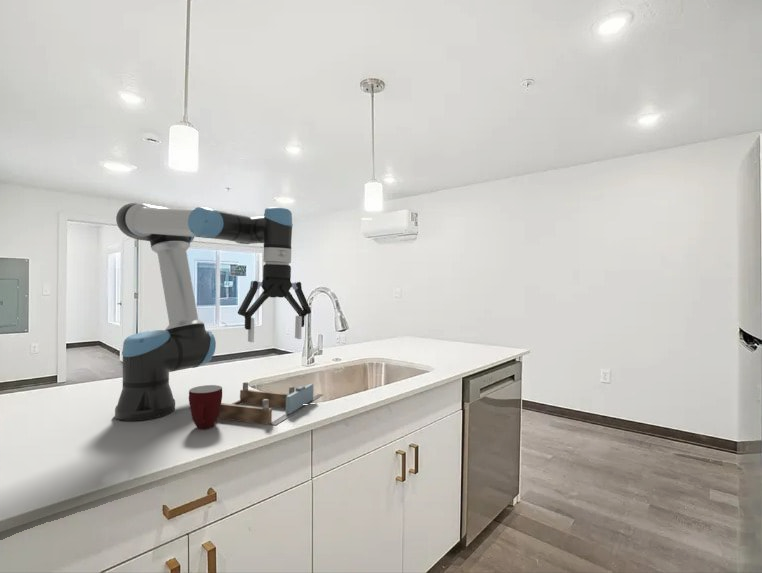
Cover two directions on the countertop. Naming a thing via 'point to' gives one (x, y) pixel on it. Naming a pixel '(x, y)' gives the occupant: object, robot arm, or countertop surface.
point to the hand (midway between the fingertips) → (275, 340)
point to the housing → (258, 413)
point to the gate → (299, 398)
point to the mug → (205, 405)
